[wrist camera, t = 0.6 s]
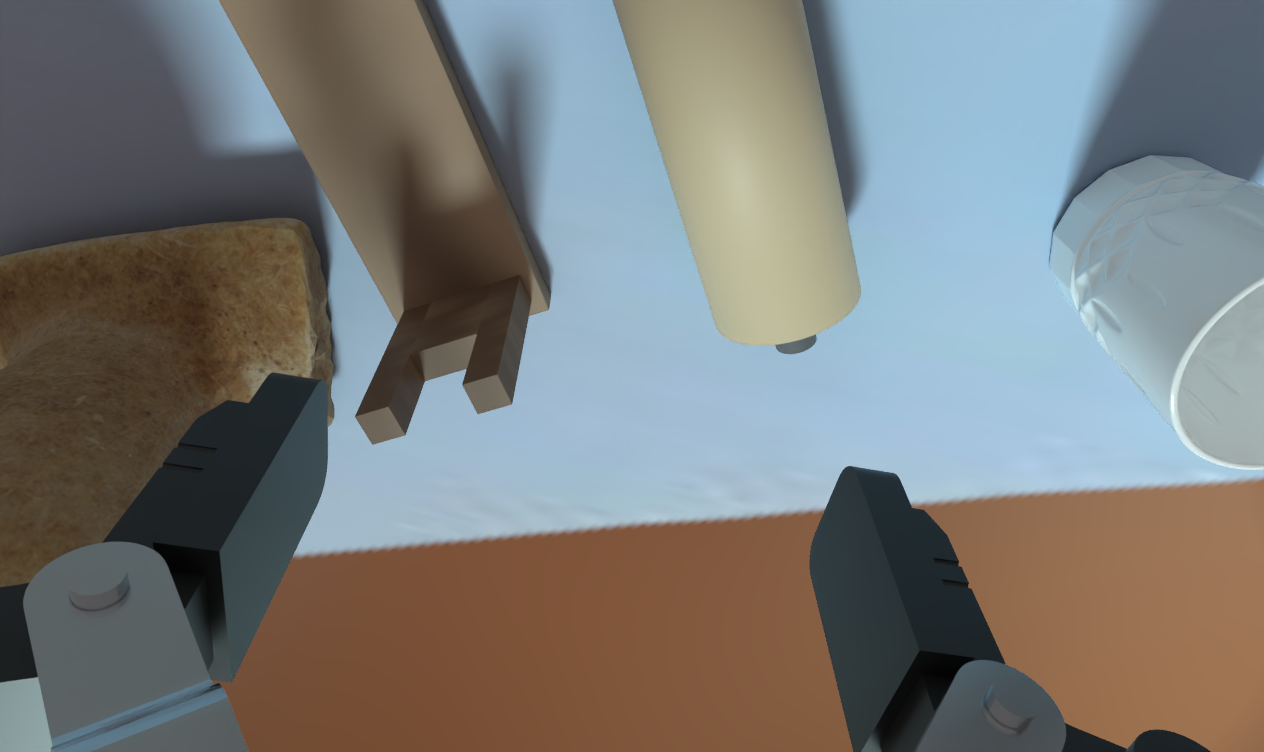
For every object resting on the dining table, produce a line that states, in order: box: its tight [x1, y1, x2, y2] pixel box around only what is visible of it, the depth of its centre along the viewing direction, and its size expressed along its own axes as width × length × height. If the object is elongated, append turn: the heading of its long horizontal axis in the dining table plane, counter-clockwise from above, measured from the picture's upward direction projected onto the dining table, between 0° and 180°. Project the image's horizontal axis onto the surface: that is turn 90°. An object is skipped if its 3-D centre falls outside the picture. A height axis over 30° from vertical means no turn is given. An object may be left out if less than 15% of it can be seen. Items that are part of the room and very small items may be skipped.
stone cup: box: [0, 217, 334, 587], centre depth 29 cm, size 15×12×15 cm
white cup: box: [1049, 155, 1264, 470], centre depth 29 cm, size 8×8×10 cm
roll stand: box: [219, 0, 551, 445], centre depth 26 cm, size 6×21×8 cm, turn 18°
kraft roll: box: [613, 0, 861, 354], centre depth 28 cm, size 6×20×6 cm, turn 18°
